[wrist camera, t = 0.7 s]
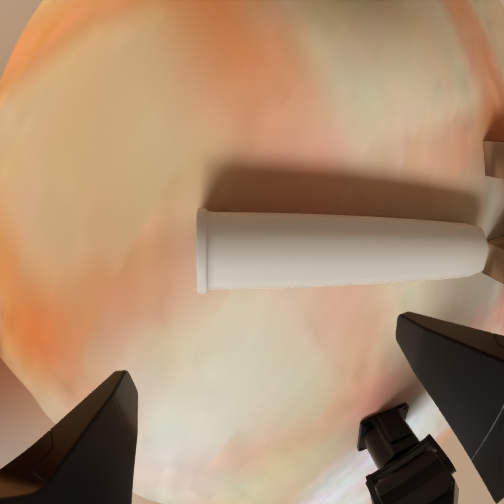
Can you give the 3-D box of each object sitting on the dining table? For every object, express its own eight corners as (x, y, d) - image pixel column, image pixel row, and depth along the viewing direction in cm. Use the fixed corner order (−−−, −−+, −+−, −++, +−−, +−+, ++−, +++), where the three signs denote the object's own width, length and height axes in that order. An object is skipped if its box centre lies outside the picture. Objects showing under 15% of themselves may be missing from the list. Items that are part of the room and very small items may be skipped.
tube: (497, 218, 20) (196, 199, 16) (499, 279, 20) (196, 298, 16) (459, 224, 25) (198, 214, 21) (461, 277, 25) (198, 289, 21)
